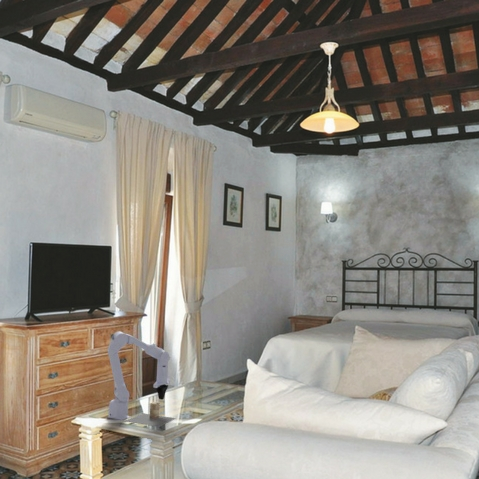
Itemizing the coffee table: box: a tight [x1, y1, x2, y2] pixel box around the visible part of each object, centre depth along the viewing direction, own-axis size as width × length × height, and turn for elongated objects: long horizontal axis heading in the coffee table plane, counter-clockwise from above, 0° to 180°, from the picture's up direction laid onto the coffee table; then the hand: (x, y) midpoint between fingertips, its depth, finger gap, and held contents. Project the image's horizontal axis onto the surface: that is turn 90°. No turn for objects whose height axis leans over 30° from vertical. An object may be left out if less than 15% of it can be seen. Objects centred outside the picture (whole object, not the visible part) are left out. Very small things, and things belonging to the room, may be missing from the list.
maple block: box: [149, 401, 161, 418], centre depth 296 cm, size 4×4×7 cm
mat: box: [124, 413, 177, 428], centre depth 290 cm, size 20×18×1 cm
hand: (161, 399), depth 302 cm, fingers closed
